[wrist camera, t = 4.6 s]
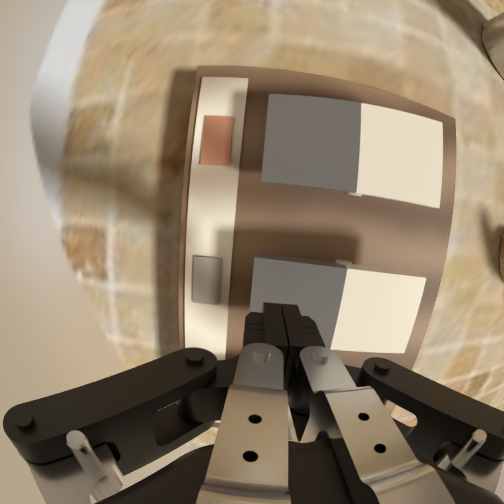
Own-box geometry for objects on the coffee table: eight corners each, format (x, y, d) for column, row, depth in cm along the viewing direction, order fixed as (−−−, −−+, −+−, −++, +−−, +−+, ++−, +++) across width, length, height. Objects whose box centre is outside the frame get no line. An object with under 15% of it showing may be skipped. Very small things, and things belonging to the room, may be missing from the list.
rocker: (273, 102, 15) (269, 92, 13) (431, 127, 13) (442, 120, 11) (266, 184, 16) (261, 183, 14) (427, 208, 14) (439, 210, 12)
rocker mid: (258, 249, 16) (254, 255, 15) (416, 268, 15) (426, 276, 13) (251, 327, 17) (246, 340, 16) (396, 341, 16) (403, 354, 14)
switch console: (205, 81, 18) (192, 55, 13) (435, 124, 18) (466, 115, 14) (190, 402, 24) (181, 434, 19) (376, 405, 24) (390, 433, 20)
